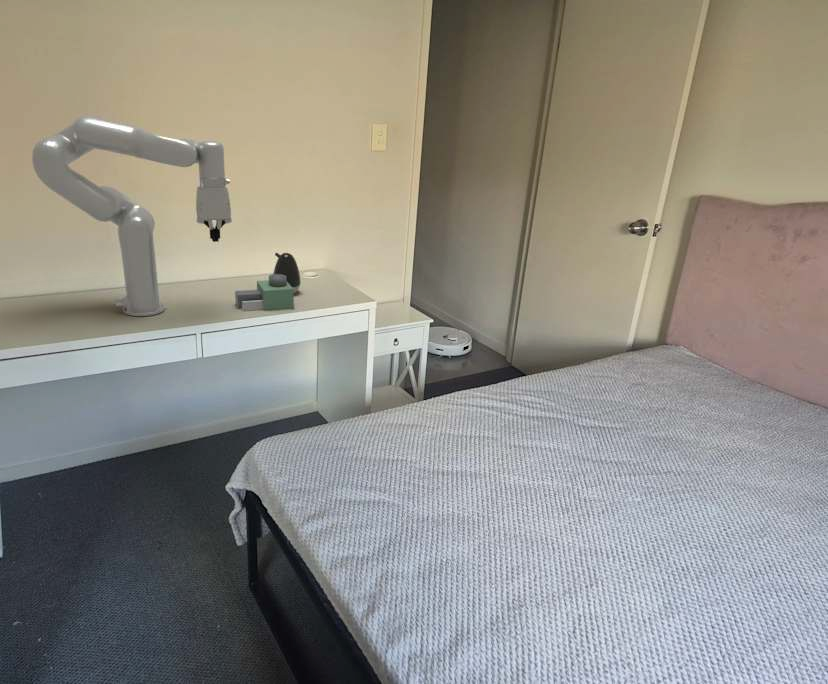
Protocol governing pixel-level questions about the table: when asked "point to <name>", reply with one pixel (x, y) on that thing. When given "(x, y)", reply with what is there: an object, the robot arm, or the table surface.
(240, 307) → the dark gray block
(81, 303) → the table surface
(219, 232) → the robot arm
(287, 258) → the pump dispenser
